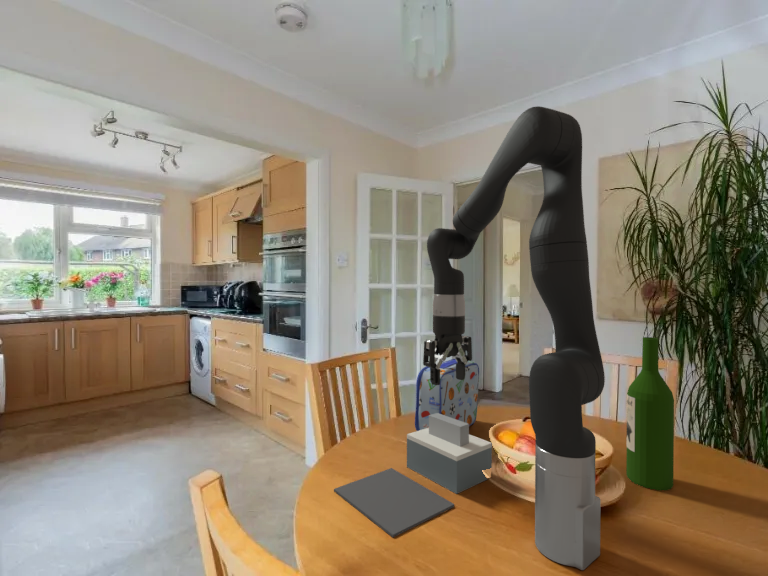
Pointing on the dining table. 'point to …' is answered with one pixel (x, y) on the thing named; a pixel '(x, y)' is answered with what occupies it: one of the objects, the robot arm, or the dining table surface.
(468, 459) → the storage box
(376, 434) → the dining table surface
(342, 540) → the dining table surface
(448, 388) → the lunch box
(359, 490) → the mat
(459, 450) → the lid
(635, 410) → the wine bottle
